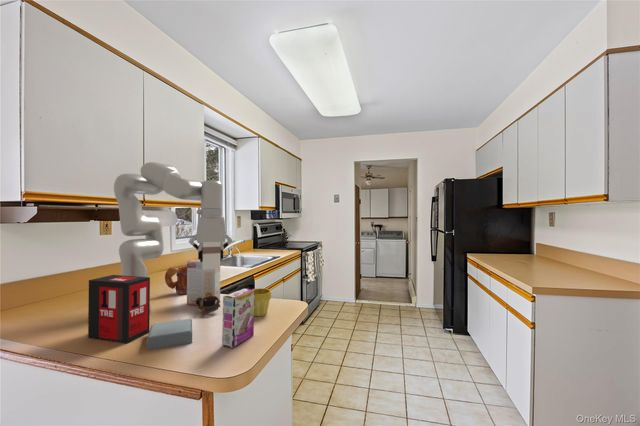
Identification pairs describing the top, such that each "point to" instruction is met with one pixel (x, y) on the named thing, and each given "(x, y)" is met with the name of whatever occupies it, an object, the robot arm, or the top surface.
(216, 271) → the cracker box
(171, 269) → the mug
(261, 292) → the plant pot
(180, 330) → the display podium
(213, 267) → the cream carton
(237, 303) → the candy bar box
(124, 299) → the cleaning product box
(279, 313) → the top surface
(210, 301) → the brown clay jug
